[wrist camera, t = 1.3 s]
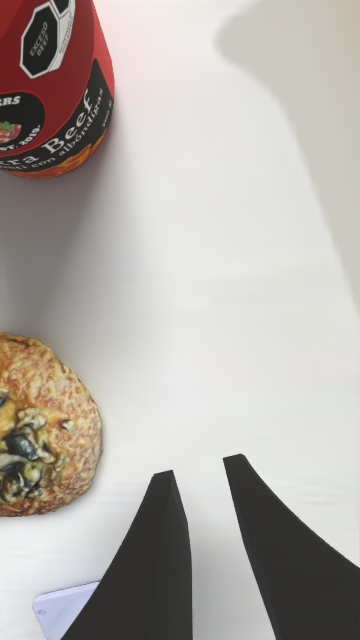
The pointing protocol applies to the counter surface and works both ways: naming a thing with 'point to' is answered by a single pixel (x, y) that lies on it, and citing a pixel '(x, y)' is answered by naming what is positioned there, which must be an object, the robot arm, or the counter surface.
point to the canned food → (52, 86)
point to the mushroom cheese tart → (43, 430)
